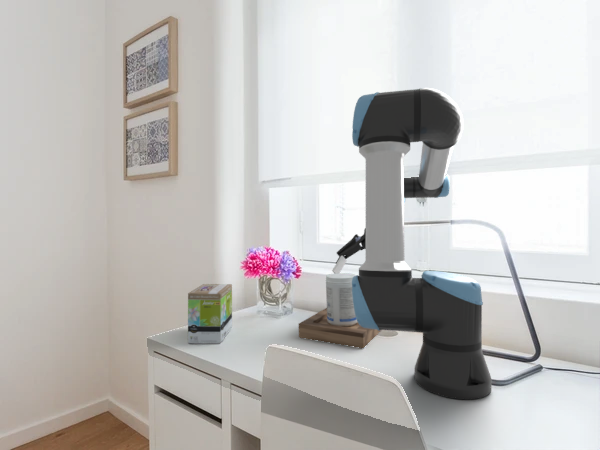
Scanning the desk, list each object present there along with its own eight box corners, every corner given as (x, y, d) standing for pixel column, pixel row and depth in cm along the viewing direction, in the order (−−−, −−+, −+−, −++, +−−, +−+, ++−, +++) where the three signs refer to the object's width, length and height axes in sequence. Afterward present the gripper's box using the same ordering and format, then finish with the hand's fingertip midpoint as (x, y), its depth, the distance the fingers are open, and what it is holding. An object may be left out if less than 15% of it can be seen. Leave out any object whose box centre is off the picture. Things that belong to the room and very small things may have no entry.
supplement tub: (361, 319, 113) (360, 273, 112) (353, 328, 104) (353, 278, 104) (332, 317, 116) (331, 272, 116) (322, 325, 108) (321, 277, 107)
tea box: (222, 344, 102) (221, 292, 101) (187, 344, 102) (185, 293, 102) (233, 327, 117) (232, 282, 116) (202, 327, 117) (201, 283, 117)
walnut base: (363, 348, 96) (363, 333, 96) (298, 337, 106) (298, 323, 106) (383, 327, 114) (383, 314, 114) (326, 319, 124) (326, 307, 124)
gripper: (415, 235, 115) (389, 288, 105) (355, 233, 134) (328, 278, 124) (406, 219, 111) (378, 272, 102) (345, 219, 130) (317, 264, 120)
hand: (350, 275), depth 113 cm, fingers open, 13 cm apart
